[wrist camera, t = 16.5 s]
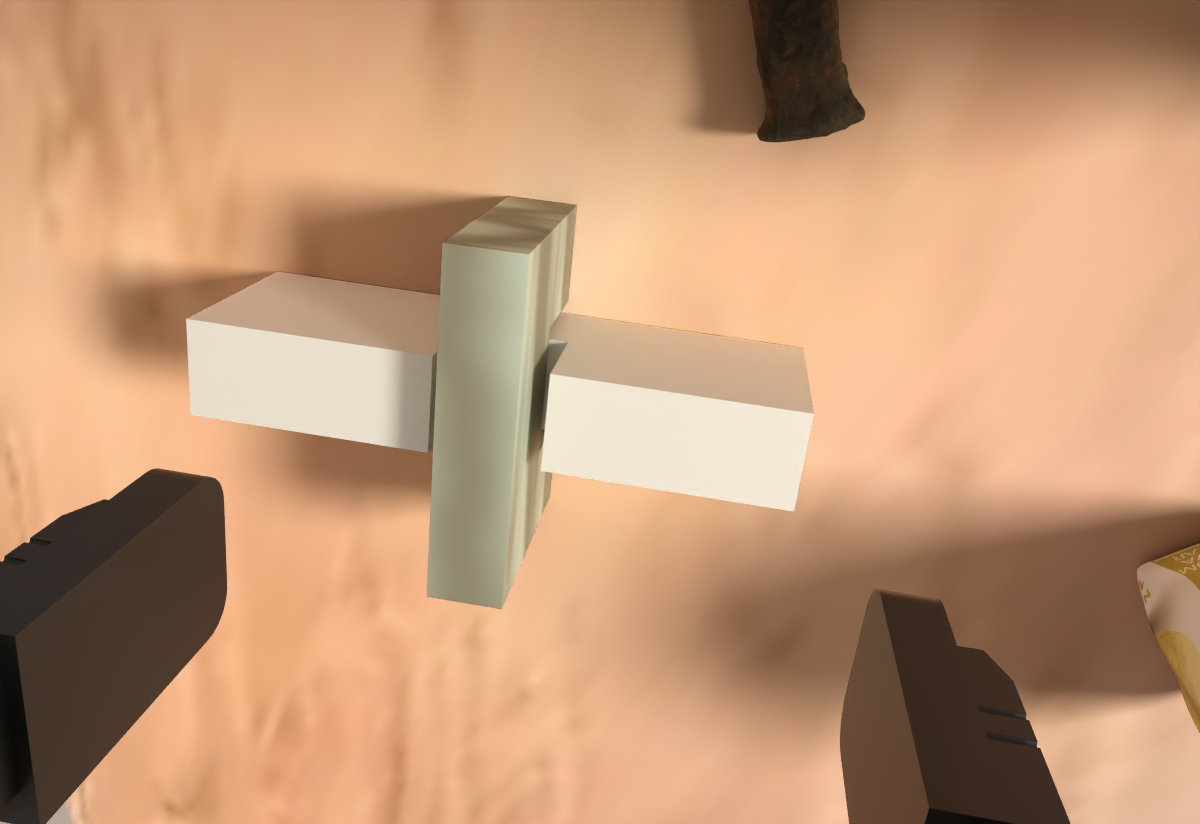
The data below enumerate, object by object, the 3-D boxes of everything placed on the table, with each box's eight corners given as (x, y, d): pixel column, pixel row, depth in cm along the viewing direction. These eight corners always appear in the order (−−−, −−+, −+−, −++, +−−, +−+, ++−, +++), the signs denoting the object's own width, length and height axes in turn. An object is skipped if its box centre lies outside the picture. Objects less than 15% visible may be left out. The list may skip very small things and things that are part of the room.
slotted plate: (577, 205, 43) (528, 254, 33) (549, 496, 48) (501, 609, 39) (508, 196, 43) (442, 242, 34) (488, 487, 48) (426, 596, 39)
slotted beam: (803, 348, 43) (814, 413, 36) (786, 431, 45) (794, 511, 38) (277, 271, 46) (186, 318, 38) (278, 353, 47) (190, 414, 40)
